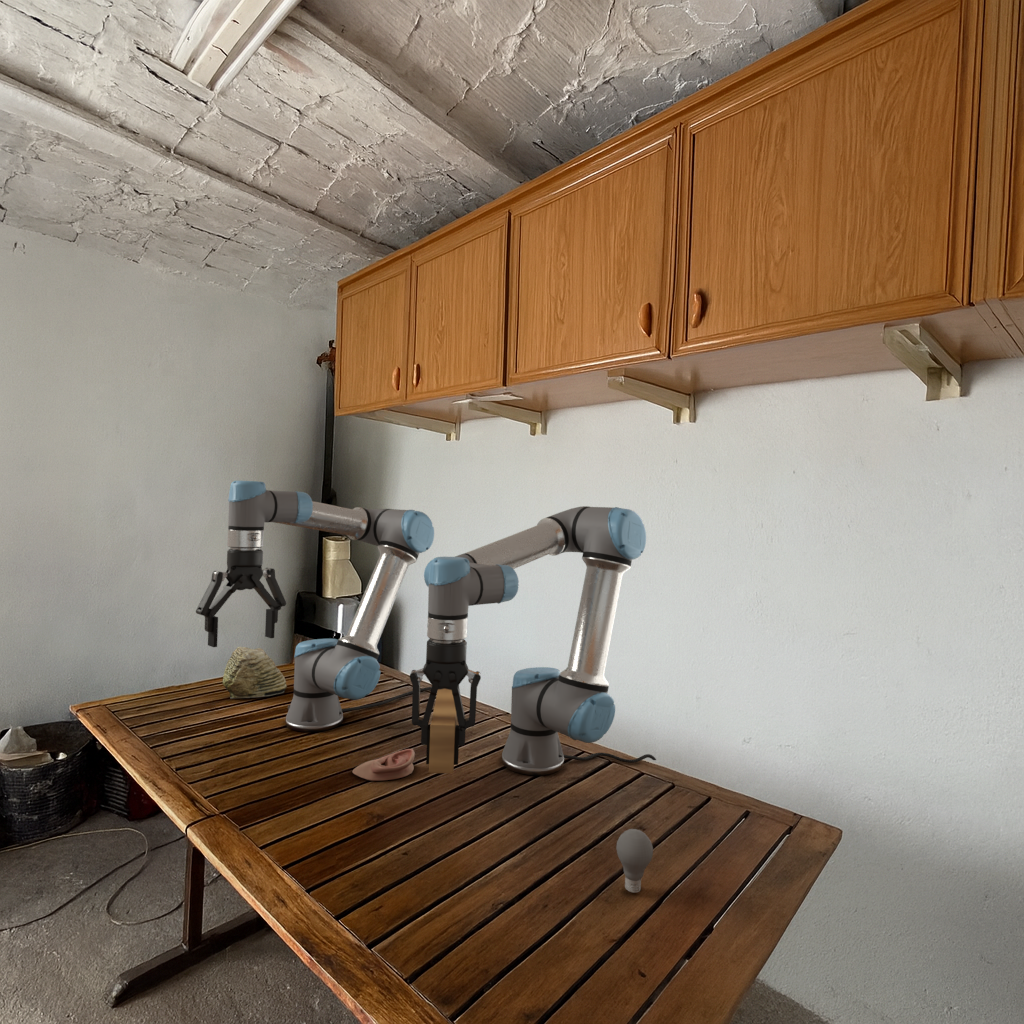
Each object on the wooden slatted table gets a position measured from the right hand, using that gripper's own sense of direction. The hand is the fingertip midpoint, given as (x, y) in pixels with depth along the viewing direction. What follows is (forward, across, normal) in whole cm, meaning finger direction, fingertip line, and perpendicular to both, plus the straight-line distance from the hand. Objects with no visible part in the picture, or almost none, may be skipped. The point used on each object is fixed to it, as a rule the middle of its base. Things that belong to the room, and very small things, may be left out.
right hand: (442, 761), depth 120 cm
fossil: (+14, -63, +81) cm, 104 cm away
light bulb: (+14, +33, -16) cm, 40 cm away
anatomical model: (+14, -15, +28) cm, 35 cm away
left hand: (-15, -48, +27) cm, 57 cm away
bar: (+1, 0, +9) cm, 9 cm away
